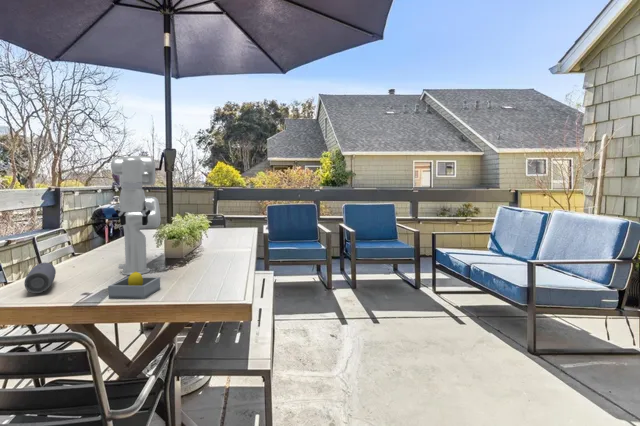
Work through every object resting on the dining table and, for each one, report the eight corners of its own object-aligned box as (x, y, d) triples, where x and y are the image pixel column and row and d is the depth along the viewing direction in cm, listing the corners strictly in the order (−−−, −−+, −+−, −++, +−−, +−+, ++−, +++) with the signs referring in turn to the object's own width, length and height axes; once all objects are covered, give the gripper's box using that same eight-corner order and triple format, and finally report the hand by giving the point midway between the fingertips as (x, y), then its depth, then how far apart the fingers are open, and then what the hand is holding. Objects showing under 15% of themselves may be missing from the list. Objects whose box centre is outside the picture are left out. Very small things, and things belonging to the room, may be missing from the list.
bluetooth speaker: (31, 284, 166) (30, 262, 166) (57, 281, 171) (56, 260, 170) (23, 298, 147) (21, 272, 146) (52, 294, 152) (50, 270, 151)
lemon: (131, 289, 156) (131, 270, 155) (145, 289, 156) (145, 270, 156) (125, 292, 150) (125, 272, 150) (139, 292, 151) (140, 272, 150)
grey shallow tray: (108, 298, 146) (108, 286, 146) (127, 288, 160) (127, 277, 160) (144, 299, 146) (143, 286, 146) (160, 288, 160) (159, 277, 160)
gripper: (108, 186, 162) (109, 225, 164) (148, 186, 162) (149, 226, 163) (117, 186, 170) (119, 224, 171) (156, 186, 170) (157, 224, 171)
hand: (134, 225), depth 167 cm, fingers open, 9 cm apart
